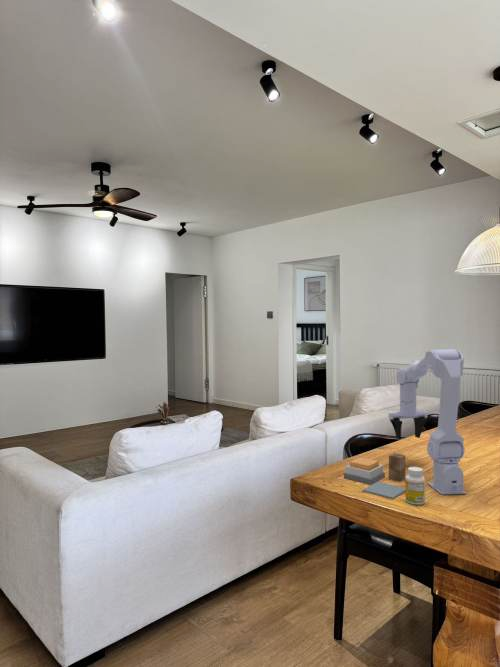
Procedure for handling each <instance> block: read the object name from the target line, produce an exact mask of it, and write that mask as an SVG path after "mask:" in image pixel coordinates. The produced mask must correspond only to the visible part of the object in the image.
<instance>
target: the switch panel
mask: <svg viewBox="0 0 500 667" xmlns="http://www.w3.org/2000/svg"><path fill="white" fill-rule="evenodd" d="M385 477H386V473H385V472H384V464H379V466H378V467H376V468H374V469H372V470H370V471H368V470H363V469H359V468H355V467H350V463H349V464H347V465H346V466H345V472H344V473H343V478H344V479H347V480H350V481H351V480H352V481H355V482H359V483H363V484H367V485H369V486H370V485H372V484H374V483H376V482H379V481H380V480H382V479H385Z"/></svg>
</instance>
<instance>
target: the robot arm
mask: <svg viewBox="0 0 500 667" xmlns="http://www.w3.org/2000/svg"><path fill="white" fill-rule="evenodd" d="M464 360H465V358H464V356H463V354H462V352H461V351H460V350H459V349H458V348H453V349H449V348H448V349H447V348H446V349H433V348H432V349H430V348H429V349H428V350H427V351H426V352H425V353H424V357H423V358H422V359H421V360H417V359H414V360H413V361H412V363H410V364H409V365H407V366H406V367H405V368H401V367H400V368H398V370H397V372H396V380H397V382H398V384H399V411H395V412H388V420H389V421H390V423H391V426H392V427H393V431H394V433H395V438H396V439H398V440H401V439H402V427H403V426H402V425H403V420H401V419H413V422H414V437H416V438H417V439H420V438H421V435H422V431H423V428H424V426H425V424H427V419H428V412H426V411H417V389H418V388H419V382H420V379H421V378H422V377H424V376H426V375H427V373H428V370H430V371H431V373H432V374H433V375H434V377H436V378H439V379H440V380H441V383H440V384H441V385H440V386H441V388H440V398H439V411H438V412H439V413H438V421H437V429H435V430H434V431H433V432H432V433H430V435H429V440H428V442H427V446H426V450H427V451H426V452H427V454H428V456H429V458H430V459H431V460H433V462H432V464H433V465H432V466H433V468H432V470H433V471H432V472H433V476H432V479H433V480H432V482H428V483H427V484H428V485H429V486H430V487H431V488H433V489H434V490H435V491H437V492H438V493H439V494H440V495H464V494H465V495H466V494H467V491H465V489H464V471H463V470H462V469H461V468H460V466H459V463H460V462H461V460H462V458H463V457H464V456H465V452H466V449H465V444H464V437H463V436H462V435H461V434H460V433H459V432H457V431H456V430H457V421H458V412H459V411H458V410H459V400H460V399H459V398H460V387H461V379H462V378H461V377H463V373H464V372H463V371H464Z"/></svg>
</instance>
